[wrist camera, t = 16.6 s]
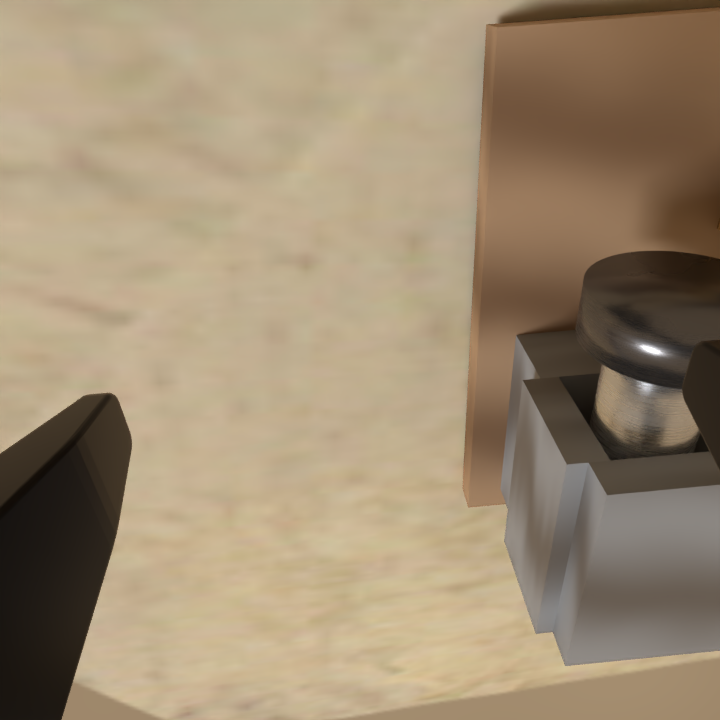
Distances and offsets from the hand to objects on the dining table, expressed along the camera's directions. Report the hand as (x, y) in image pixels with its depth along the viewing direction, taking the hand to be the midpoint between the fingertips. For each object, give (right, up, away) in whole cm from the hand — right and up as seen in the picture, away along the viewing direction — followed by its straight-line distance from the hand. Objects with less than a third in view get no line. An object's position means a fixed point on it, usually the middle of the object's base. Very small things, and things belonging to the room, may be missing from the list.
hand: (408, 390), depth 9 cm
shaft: (+8, -2, +12) cm, 15 cm away
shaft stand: (+11, +3, +13) cm, 18 cm away
